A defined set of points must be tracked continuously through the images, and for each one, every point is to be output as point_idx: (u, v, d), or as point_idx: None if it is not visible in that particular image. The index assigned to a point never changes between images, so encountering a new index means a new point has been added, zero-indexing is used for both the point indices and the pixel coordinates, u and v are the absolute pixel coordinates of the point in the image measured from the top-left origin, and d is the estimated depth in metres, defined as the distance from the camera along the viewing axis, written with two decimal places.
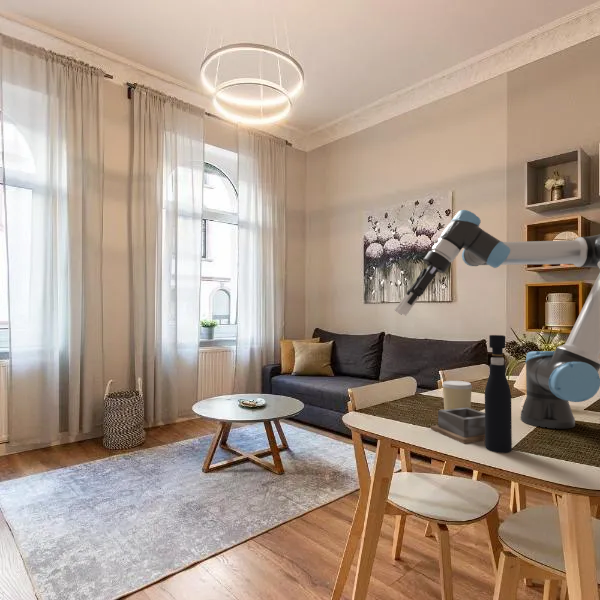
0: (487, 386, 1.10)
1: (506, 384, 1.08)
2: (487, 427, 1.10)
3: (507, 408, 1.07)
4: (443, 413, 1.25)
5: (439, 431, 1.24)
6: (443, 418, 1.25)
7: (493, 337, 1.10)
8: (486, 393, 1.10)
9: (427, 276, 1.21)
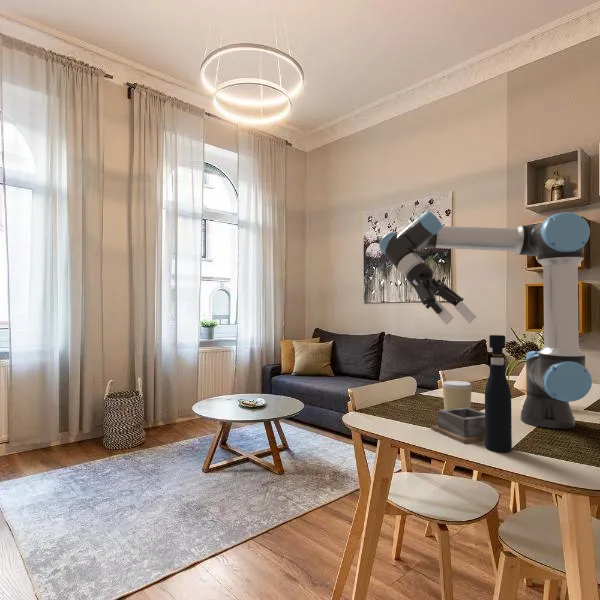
0: (487, 386, 1.10)
1: (506, 384, 1.08)
2: (487, 427, 1.10)
3: (507, 408, 1.07)
4: (443, 413, 1.25)
5: (439, 431, 1.24)
6: (443, 418, 1.25)
7: (493, 337, 1.10)
8: (486, 393, 1.10)
9: (417, 289, 1.20)
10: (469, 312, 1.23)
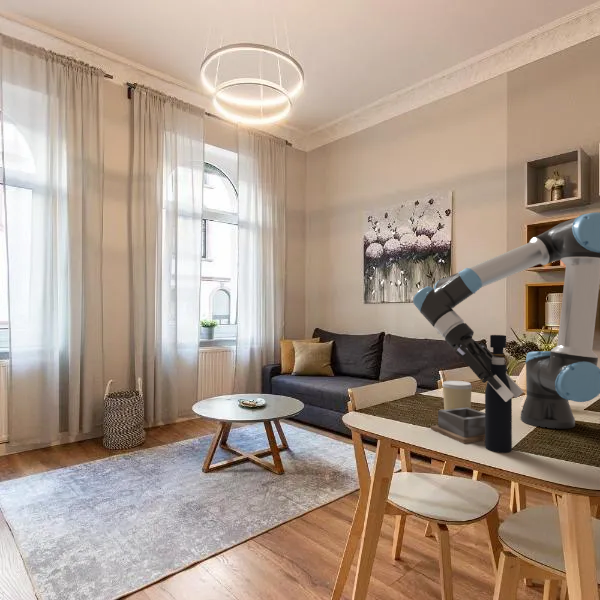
0: (488, 386, 1.11)
1: (507, 384, 1.09)
2: (487, 427, 1.10)
3: (507, 407, 1.08)
4: (443, 413, 1.25)
5: (439, 431, 1.24)
6: (443, 418, 1.25)
7: (494, 337, 1.10)
8: (486, 393, 1.10)
9: (467, 360, 1.11)
10: (515, 386, 1.10)
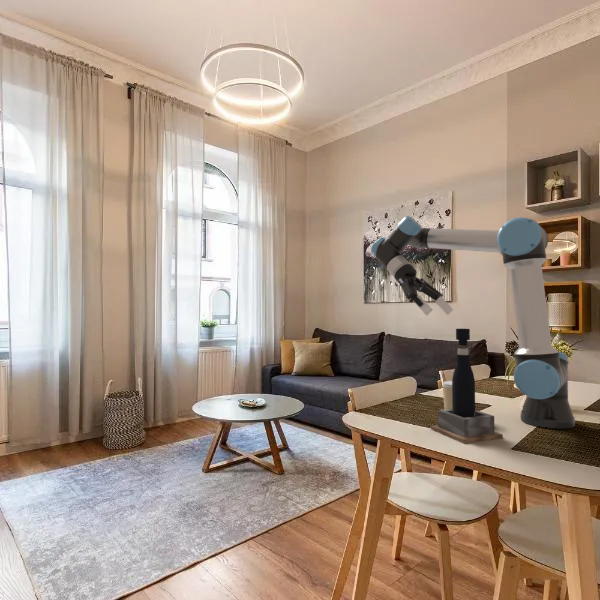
0: (454, 374, 1.24)
1: (470, 372, 1.22)
2: (454, 410, 1.23)
3: (471, 393, 1.21)
4: (443, 413, 1.25)
5: (439, 431, 1.24)
6: (443, 418, 1.25)
7: (459, 330, 1.23)
8: (453, 380, 1.24)
9: (403, 286, 1.42)
10: (447, 305, 1.45)
